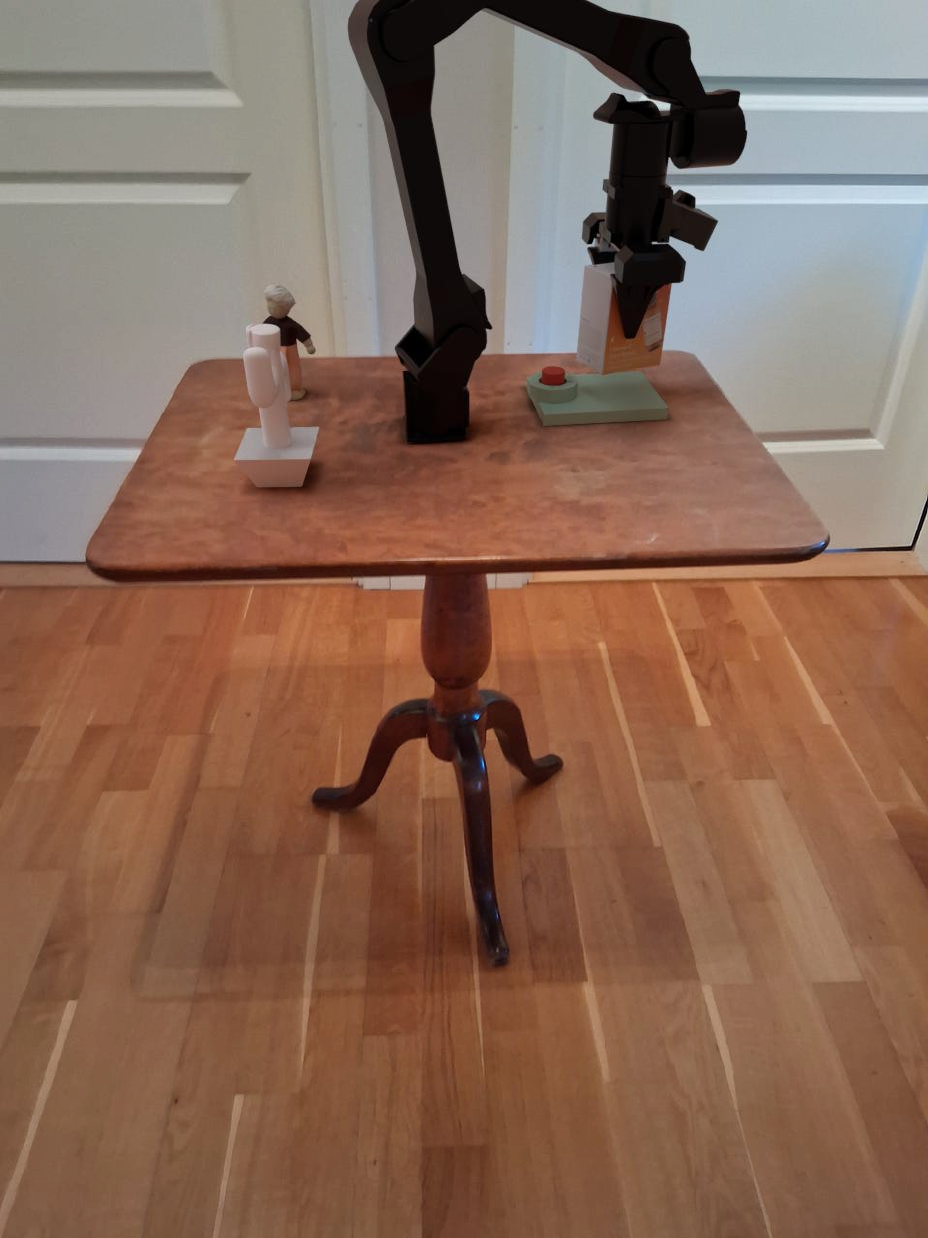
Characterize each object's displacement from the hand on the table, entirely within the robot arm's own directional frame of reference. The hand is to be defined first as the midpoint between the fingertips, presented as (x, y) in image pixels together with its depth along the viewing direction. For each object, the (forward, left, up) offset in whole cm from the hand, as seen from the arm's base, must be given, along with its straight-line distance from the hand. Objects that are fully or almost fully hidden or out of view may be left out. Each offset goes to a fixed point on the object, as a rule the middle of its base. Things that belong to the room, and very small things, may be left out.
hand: (621, 327), depth 99 cm
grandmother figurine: (-37, +7, -9) cm, 39 cm away
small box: (0, 0, -4) cm, 4 cm away
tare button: (-7, 0, -6) cm, 9 cm away
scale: (-2, 0, -9) cm, 9 cm away
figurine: (-37, -14, -9) cm, 41 cm away
